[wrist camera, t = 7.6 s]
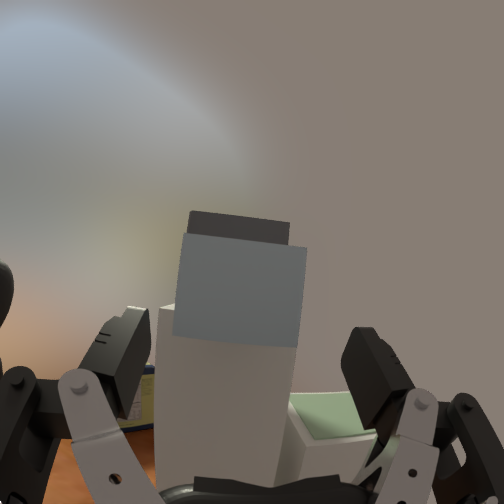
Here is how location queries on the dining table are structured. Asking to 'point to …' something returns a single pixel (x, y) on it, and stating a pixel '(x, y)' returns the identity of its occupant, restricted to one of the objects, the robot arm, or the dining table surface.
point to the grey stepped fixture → (245, 416)
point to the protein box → (141, 404)
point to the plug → (239, 281)
